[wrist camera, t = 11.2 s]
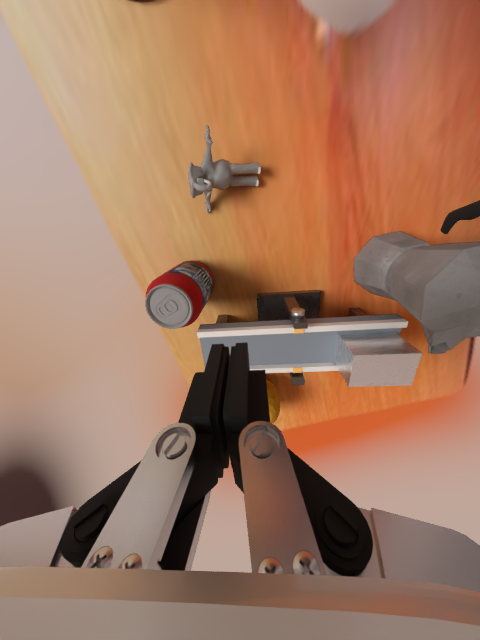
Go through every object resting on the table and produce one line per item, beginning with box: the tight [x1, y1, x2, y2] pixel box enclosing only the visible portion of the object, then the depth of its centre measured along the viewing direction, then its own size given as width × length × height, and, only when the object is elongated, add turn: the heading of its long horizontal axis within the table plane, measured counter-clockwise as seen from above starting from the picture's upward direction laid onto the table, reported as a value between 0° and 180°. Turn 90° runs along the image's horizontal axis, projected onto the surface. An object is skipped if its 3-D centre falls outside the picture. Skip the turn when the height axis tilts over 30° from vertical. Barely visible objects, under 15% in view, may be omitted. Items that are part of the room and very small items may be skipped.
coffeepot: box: [354, 200, 480, 354], centre depth 24 cm, size 15×9×18 cm, turn 170°
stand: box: [216, 290, 369, 385], centre depth 32 cm, size 11×24×11 cm, turn 95°
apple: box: [266, 379, 280, 424], centre depth 39 cm, size 8×8×9 cm
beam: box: [197, 314, 408, 373], centre depth 29 cm, size 7×26×2 cm, turn 95°
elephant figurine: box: [188, 125, 261, 213], centre depth 27 cm, size 10×6×9 cm
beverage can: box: [145, 261, 214, 329], centre depth 30 cm, size 7×7×12 cm
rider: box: [334, 331, 422, 387], centre depth 26 cm, size 4×7×5 cm, turn 94°
